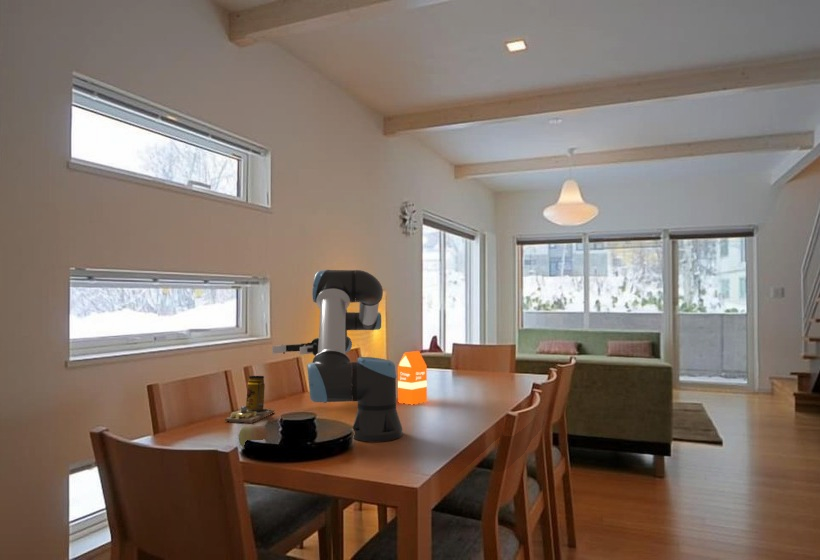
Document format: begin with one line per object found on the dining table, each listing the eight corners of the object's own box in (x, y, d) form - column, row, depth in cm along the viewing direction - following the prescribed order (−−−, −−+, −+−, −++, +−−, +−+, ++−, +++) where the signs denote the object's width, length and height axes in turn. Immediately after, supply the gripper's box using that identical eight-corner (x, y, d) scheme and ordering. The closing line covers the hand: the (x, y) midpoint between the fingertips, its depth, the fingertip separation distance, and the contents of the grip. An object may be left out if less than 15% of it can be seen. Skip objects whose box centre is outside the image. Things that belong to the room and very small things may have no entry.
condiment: (240, 409, 193) (242, 375, 195) (255, 408, 200) (257, 375, 202) (257, 410, 190) (259, 375, 192) (272, 409, 198) (273, 375, 200)
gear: (248, 419, 183) (248, 409, 183) (225, 418, 185) (225, 409, 185) (261, 414, 191) (261, 404, 191) (239, 413, 193) (239, 404, 193)
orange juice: (427, 401, 217) (426, 351, 217) (412, 405, 210) (411, 353, 211) (413, 399, 222) (412, 350, 223) (397, 402, 216) (397, 352, 216)
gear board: (252, 423, 182) (251, 419, 182) (225, 422, 185) (225, 417, 185) (274, 413, 198) (274, 409, 198) (249, 412, 200) (249, 408, 200)
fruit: (243, 454, 146) (243, 424, 147) (235, 448, 152) (235, 419, 153) (271, 449, 150) (271, 420, 151) (262, 443, 157) (262, 415, 157)
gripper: (347, 356, 215) (312, 361, 197) (300, 355, 228) (262, 359, 210) (347, 337, 216) (312, 340, 197) (299, 337, 228) (262, 339, 210)
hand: (286, 350), depth 203 cm, fingers open, 13 cm apart
